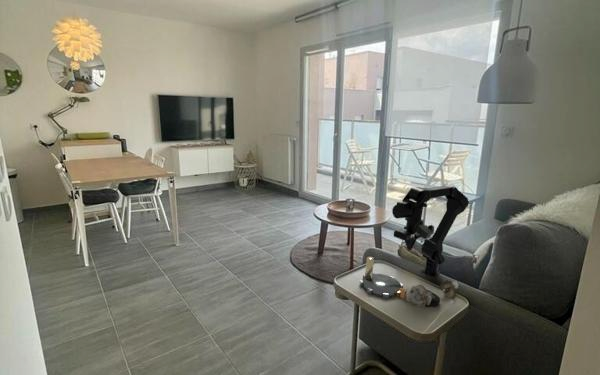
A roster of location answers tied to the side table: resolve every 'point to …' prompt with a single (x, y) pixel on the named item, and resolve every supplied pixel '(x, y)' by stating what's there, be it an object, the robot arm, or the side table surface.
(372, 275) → the grey base with rod
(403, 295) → the index pointer
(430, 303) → the grey rock
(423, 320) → the side table surface
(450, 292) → the eagle figurine
